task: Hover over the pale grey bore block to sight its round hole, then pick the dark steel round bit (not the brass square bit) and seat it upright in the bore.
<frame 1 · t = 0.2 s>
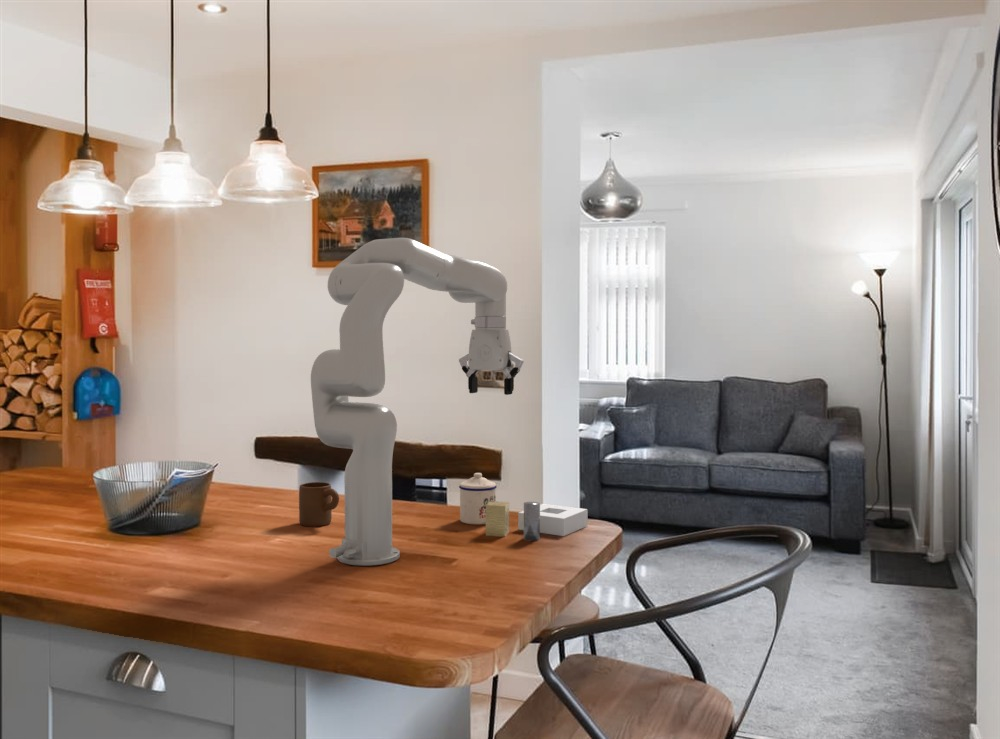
hand: (490, 393, 213), 31 cm above the kitchen island, fingers open, 9 cm apart
mug: (321, 525, 206), on the kitchen island
bore block: (553, 527, 204), on the kitchen island
square bit: (497, 533, 198), on the kitchen island
teacup with lid: (480, 520, 212), on the kitchen island
round bit: (531, 538, 193), on the kitchen island
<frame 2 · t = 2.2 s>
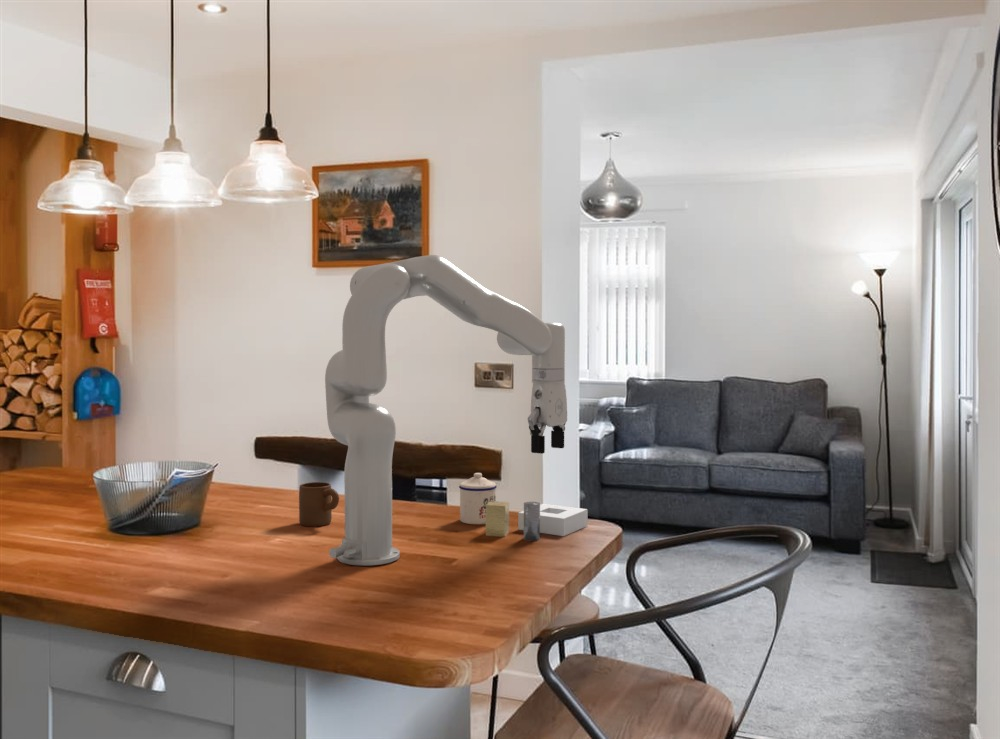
hand: (547, 450, 200), 19 cm above the kitchen island, fingers open, 9 cm apart
nothing on the kitchen island moved.
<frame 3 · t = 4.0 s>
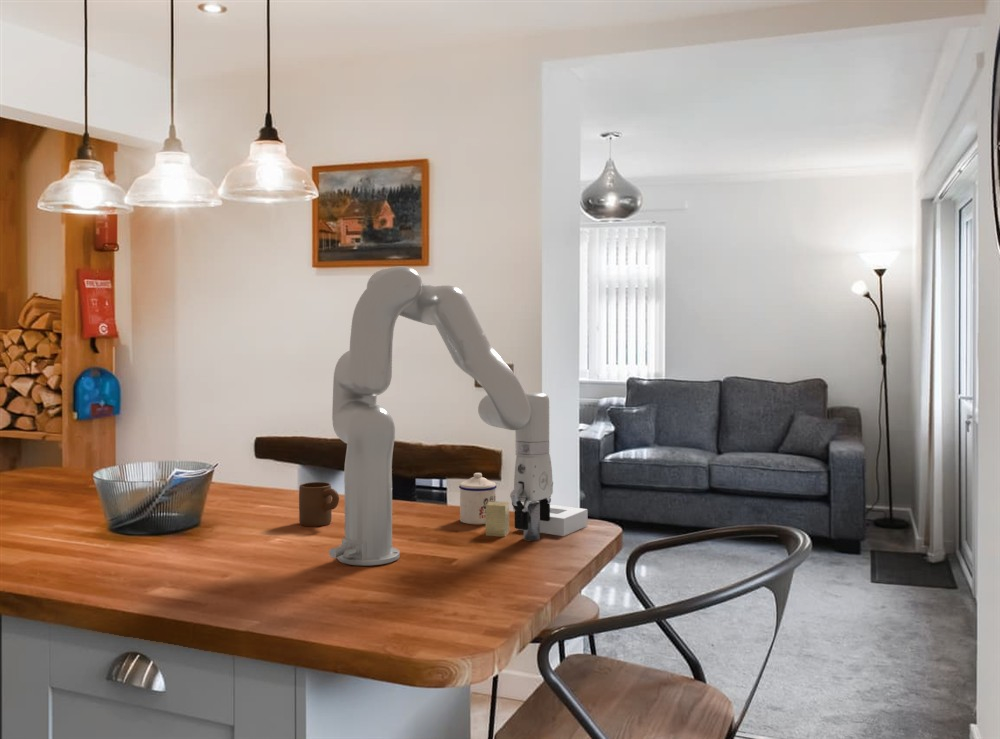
hand: (532, 524, 193), 3 cm above the kitchen island, fingers open, 9 cm apart
nothing on the kitchen island moved.
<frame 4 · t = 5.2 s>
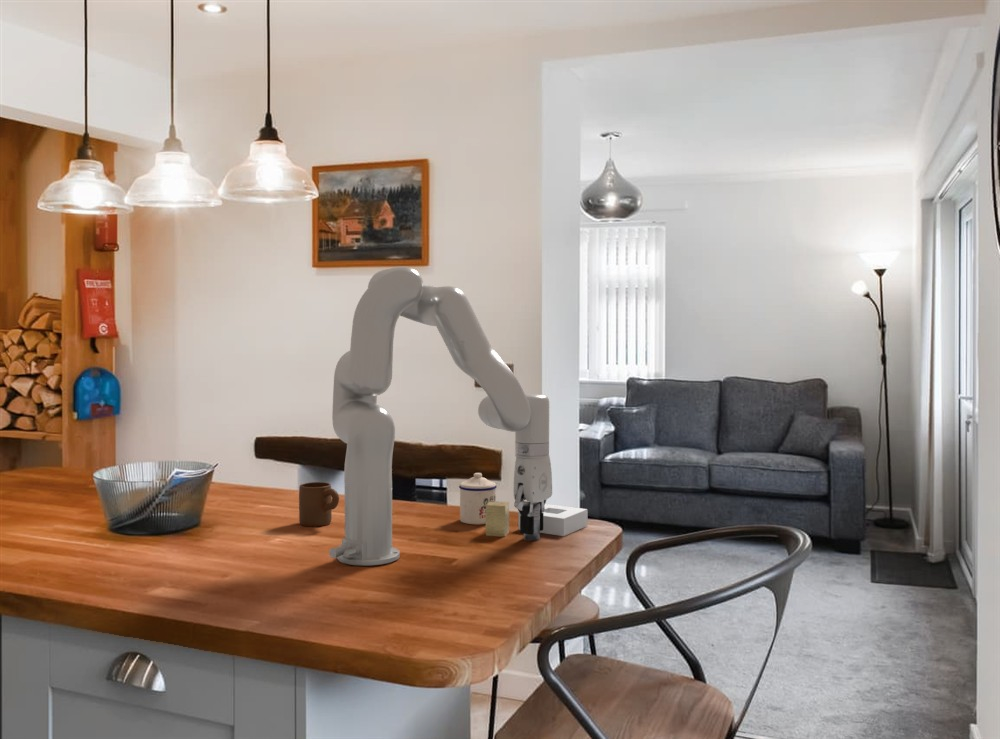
hand: (531, 530, 193), 2 cm above the kitchen island, fingers closed on round bit, 3 cm apart
round bit: (531, 538, 193), on the kitchen island, touching gripper
everything else where it was.
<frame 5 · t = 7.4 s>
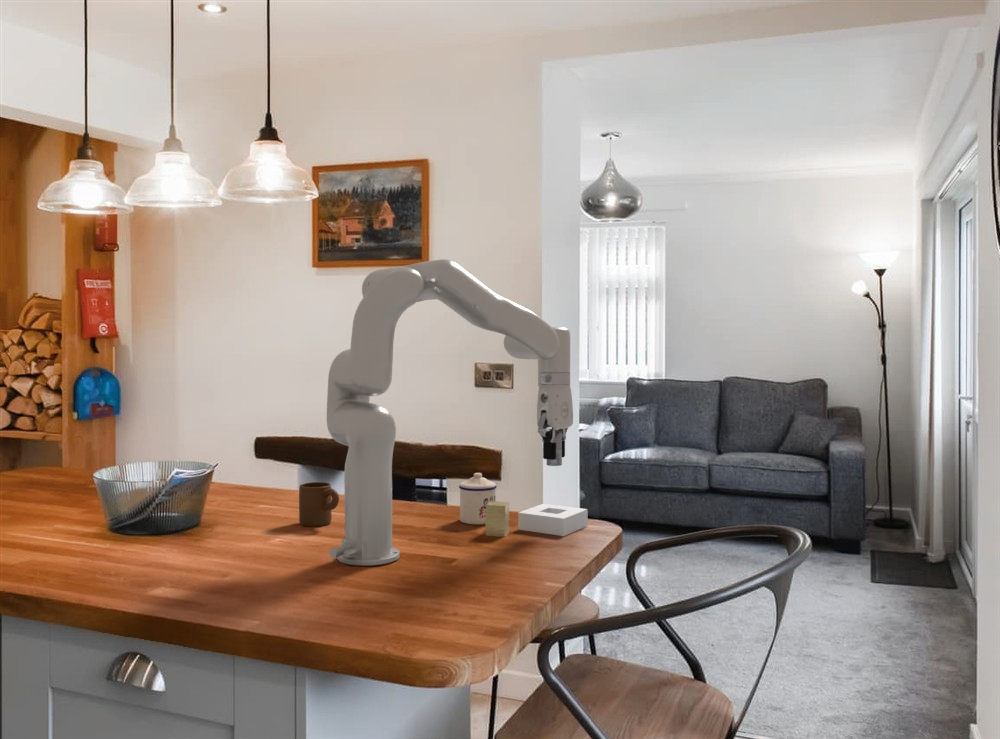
hand: (554, 457, 203), 17 cm above the kitchen island, fingers closed on round bit, 3 cm apart
round bit: (554, 464, 203), point 15 cm above the kitchen island, touching gripper
everything else where it was.
when the fingers open (5 cm above the kitchen island, at t = 9.6 s): round bit drops 3 cm, resting in bore block.
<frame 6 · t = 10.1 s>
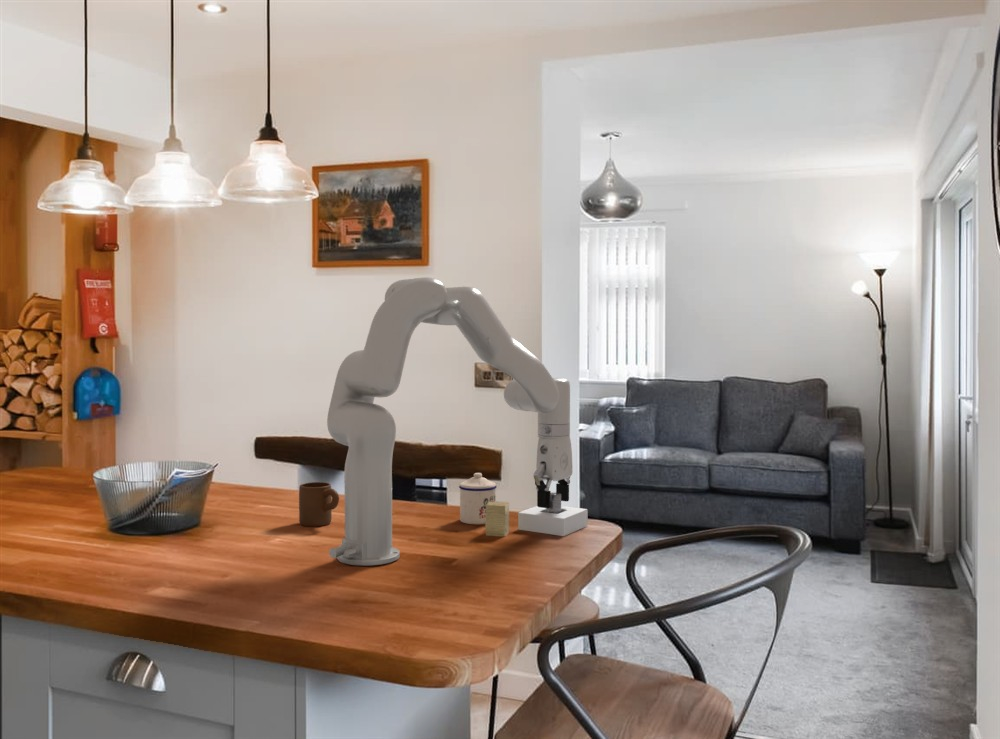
hand: (553, 503, 204), 6 cm above the kitchen island, fingers open, 8 cm apart
round bit: (553, 527, 204), resting in bore block
everything else where it was.
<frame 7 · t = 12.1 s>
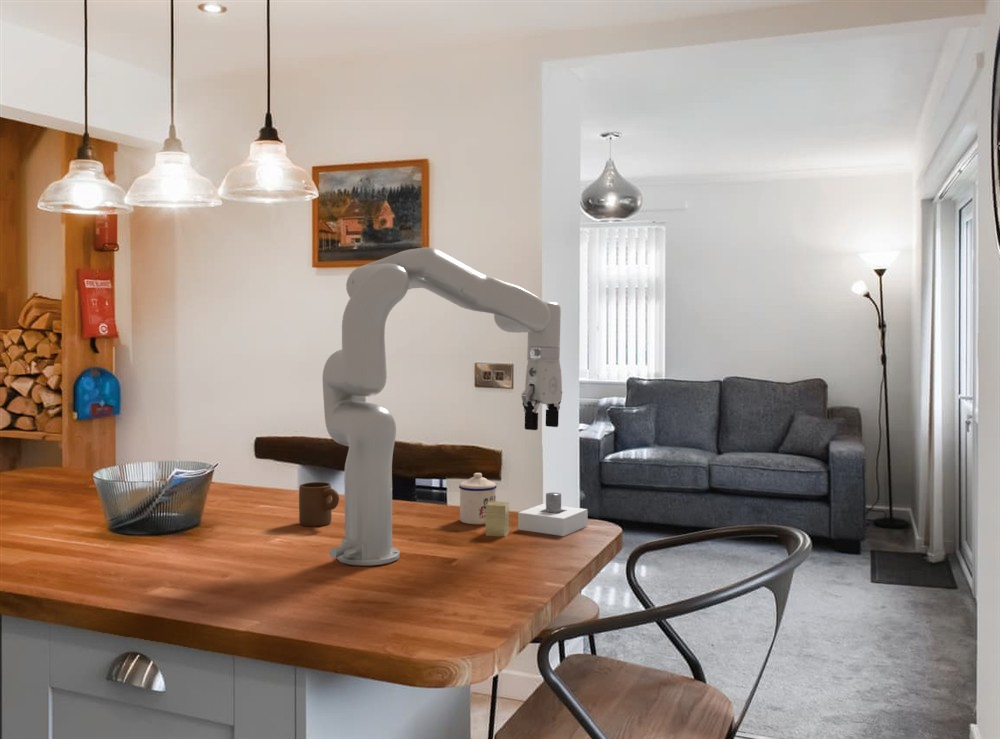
hand: (541, 428, 202), 24 cm above the kitchen island, fingers open, 9 cm apart
nothing on the kitchen island moved.
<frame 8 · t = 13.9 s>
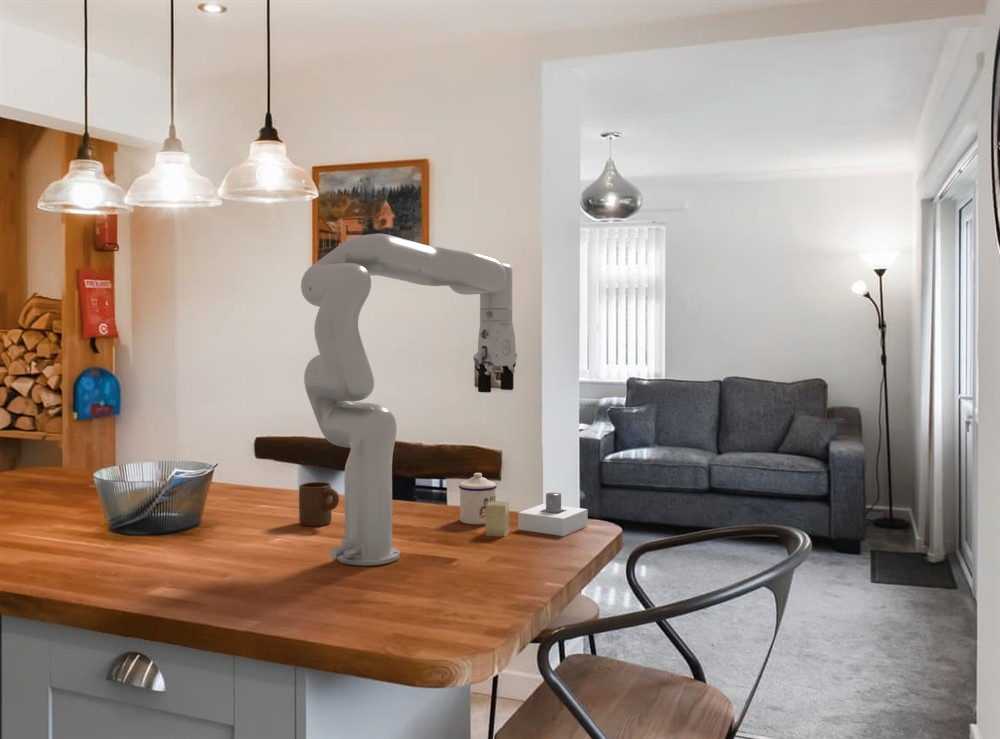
hand: (495, 390, 201), 32 cm above the kitchen island, fingers open, 9 cm apart
nothing on the kitchen island moved.
at the end: round bit 0.1 cm off-centre on the bore block, point 0.0 cm above the bore block's base; round bit tilted 0°; the gripper is holding nothing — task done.
